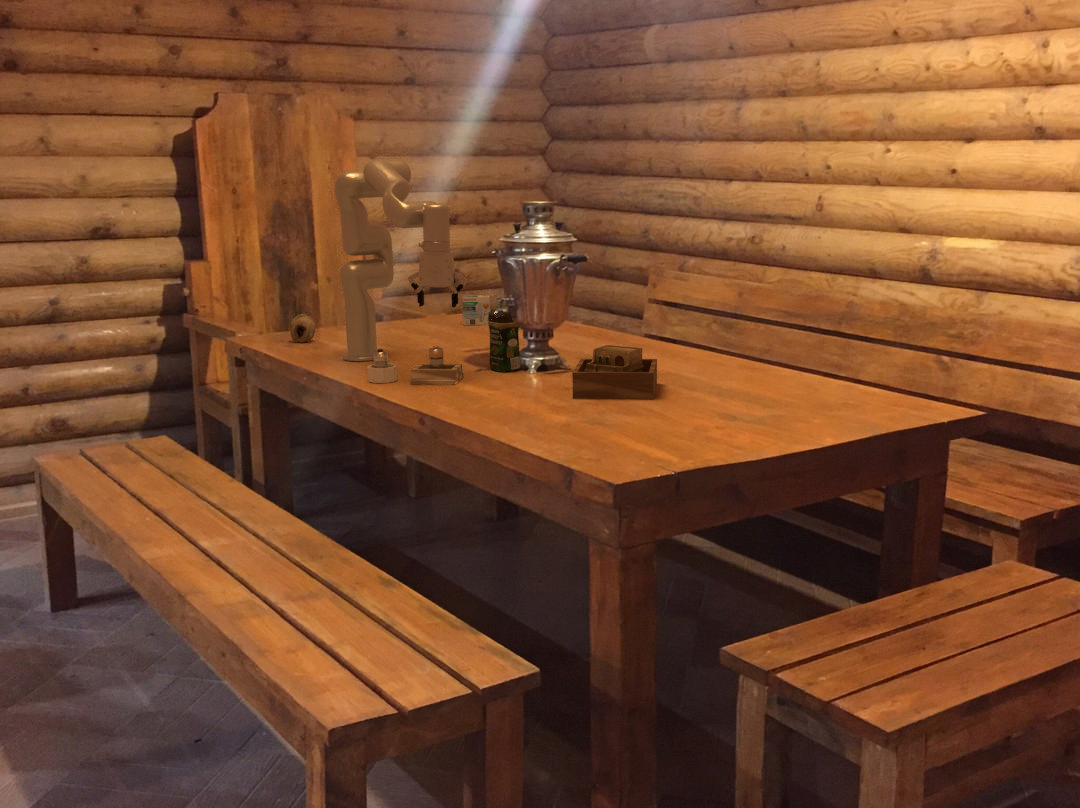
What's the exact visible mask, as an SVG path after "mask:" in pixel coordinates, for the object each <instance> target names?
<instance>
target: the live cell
mask: <svg viewBox="0 0 1080 808" xmlns="http://www.w3.org/2000/svg"><path fill="white" fill-rule="evenodd" d="M428 358H429V364H430V369H444V364H445V363H444V348H443V347H441V346H440V347H439V345H433V347H429V348H428Z"/></svg>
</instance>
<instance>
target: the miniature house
mask: <svg viewBox="0 0 1080 808" xmlns="http://www.w3.org/2000/svg"><path fill="white" fill-rule="evenodd" d="M591 359H592V362H590V363H587V364H586V369H585V370H584V371H586V372H642V368H644V367H645V366H643V364H642V359H643V347H636V346H626V345H625V346H624V345H613V344H612V345H610V344H605V345H602V346H599V347H595V348H593V349H592V358H591Z"/></svg>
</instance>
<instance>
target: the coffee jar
mask: <svg viewBox="0 0 1080 808" xmlns="http://www.w3.org/2000/svg"><path fill="white" fill-rule="evenodd" d="M496 309H497V308H493V309H492V308H491V309H490V312H489V314H488V324H489V325H488V329H489V358H488V359H489V363H488V365H489V368H490V370H493V371H496V372H500V371H503V372H502V373H506V372H505V371H509V372H510V371H514V372H516V371H518V370H520V369H521V368H520V364H521V355H520V352H521V351H520V342H519V341H520V340H519V338H520V337H519V327H520V325H519V326H517V325H516V324H515V322H514V321H513V320H512V317H511V315H510V314H509V313H506V314H504V315H503V316H501V317H498V318H496V317H495V314H496V313H495V314H494V312H495V310H496ZM491 319H492V320H491ZM515 370H516V371H515Z"/></svg>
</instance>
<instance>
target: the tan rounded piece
mask: <svg viewBox="0 0 1080 808" xmlns="http://www.w3.org/2000/svg"><path fill="white" fill-rule="evenodd" d="M290 324H291V325H290V328H289V331H290V336H291V340H292V341H294V342H296V343H302V344H303V343H309V342H311V340H312V339H313V338H314V337H315V334H316V328H317V327H316V323H315V322H314V320H313V319H312V316H310V315H307V314H306V313H301V314H298V315H296V316H295V317H293V319H292V320H291V322H290Z"/></svg>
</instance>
